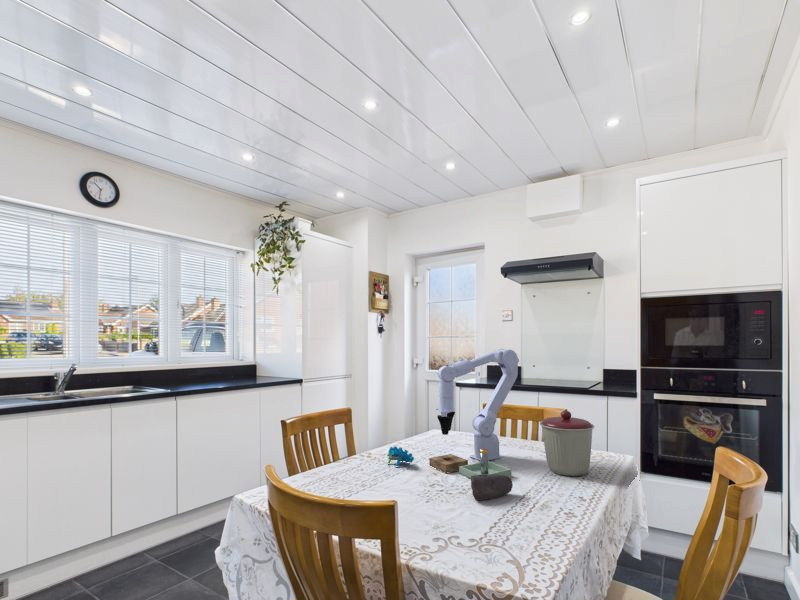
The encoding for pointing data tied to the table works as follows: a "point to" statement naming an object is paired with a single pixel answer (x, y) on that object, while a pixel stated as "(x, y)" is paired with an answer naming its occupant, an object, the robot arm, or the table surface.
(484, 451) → the pin
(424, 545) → the table surface
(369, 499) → the table surface
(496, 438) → the robot arm
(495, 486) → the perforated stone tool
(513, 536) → the table surface
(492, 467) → the tray
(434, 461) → the block
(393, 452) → the blue bumpy piece
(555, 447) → the canister
